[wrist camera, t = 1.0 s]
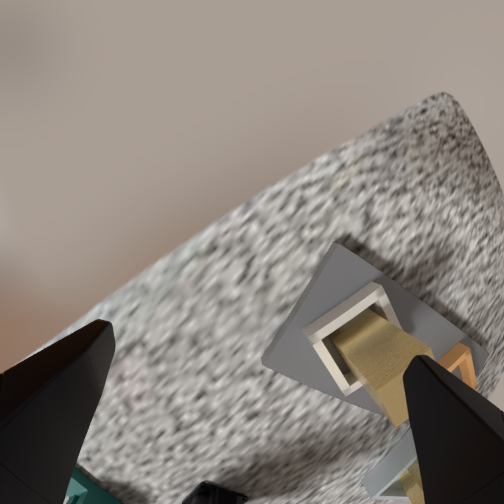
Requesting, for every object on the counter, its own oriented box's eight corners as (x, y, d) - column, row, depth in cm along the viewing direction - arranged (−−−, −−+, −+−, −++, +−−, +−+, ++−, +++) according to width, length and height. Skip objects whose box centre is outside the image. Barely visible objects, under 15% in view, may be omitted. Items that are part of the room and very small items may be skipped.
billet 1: (346, 365, 24) (395, 427, 14) (326, 333, 24) (376, 390, 14) (381, 340, 24) (444, 389, 14) (364, 306, 24) (430, 348, 14)
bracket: (129, 506, 26) (117, 542, 19) (108, 512, 27) (95, 544, 19) (34, 426, 25) (6, 456, 17) (20, 439, 25) (-4, 465, 17)
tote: (403, 484, 28) (413, 500, 24) (361, 479, 27) (370, 498, 23) (447, 437, 28) (461, 451, 24) (410, 427, 27) (425, 444, 23)
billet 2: (398, 481, 26) (427, 527, 16) (403, 464, 25) (437, 512, 15) (422, 470, 26) (453, 512, 16) (428, 453, 25) (464, 496, 15)
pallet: (431, 426, 27) (444, 439, 24) (261, 357, 25) (264, 375, 22) (482, 349, 27) (499, 358, 23) (332, 242, 25) (347, 244, 21)
